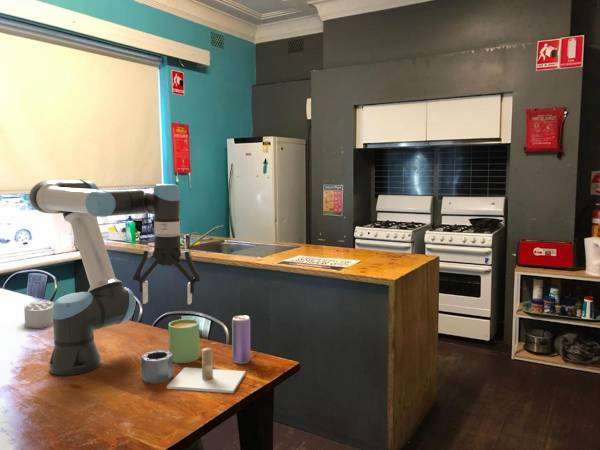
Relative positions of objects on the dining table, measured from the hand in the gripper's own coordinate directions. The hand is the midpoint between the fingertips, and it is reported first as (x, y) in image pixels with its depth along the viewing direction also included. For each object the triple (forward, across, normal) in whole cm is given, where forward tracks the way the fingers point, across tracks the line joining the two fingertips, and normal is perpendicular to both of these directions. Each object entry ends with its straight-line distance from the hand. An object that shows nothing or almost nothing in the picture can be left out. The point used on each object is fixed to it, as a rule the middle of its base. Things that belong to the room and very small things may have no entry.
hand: (167, 303), depth 149 cm
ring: (+23, -2, -3) cm, 23 cm away
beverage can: (+23, +22, +10) cm, 33 cm away
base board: (+22, +13, -5) cm, 27 cm away
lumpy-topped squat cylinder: (+25, -67, +52) cm, 88 cm away
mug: (+23, +1, +15) cm, 28 cm away
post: (+22, +13, -5) cm, 27 cm away
